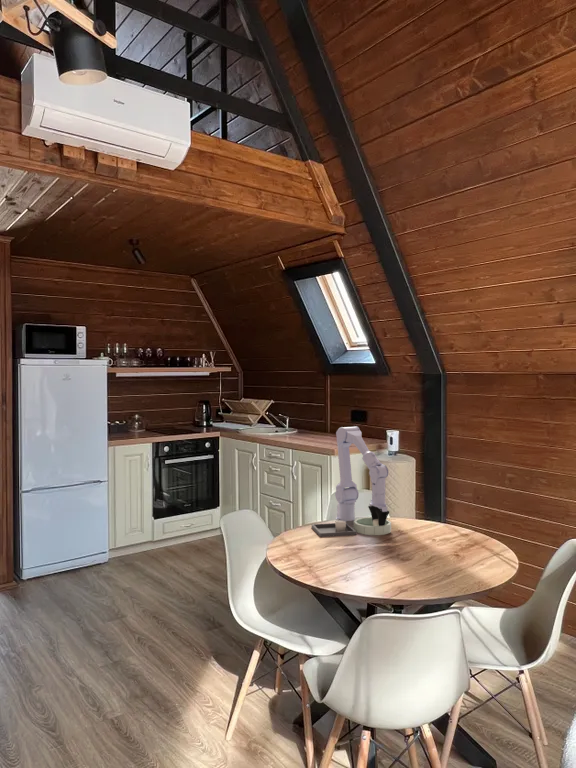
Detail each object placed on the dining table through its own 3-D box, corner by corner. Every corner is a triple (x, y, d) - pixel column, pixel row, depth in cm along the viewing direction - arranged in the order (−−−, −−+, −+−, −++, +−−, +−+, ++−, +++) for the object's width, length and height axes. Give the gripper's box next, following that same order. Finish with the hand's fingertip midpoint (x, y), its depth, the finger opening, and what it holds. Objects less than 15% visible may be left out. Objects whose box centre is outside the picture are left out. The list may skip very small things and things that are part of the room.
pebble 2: (371, 528, 251) (371, 519, 251) (381, 528, 252) (381, 518, 252) (375, 531, 247) (375, 522, 246) (384, 530, 247) (385, 521, 247)
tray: (311, 529, 252) (311, 524, 252) (345, 528, 255) (345, 522, 255) (320, 539, 238) (320, 533, 238) (356, 537, 241) (356, 531, 241)
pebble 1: (334, 529, 249) (334, 520, 249) (344, 529, 250) (344, 519, 250) (337, 532, 245) (337, 523, 244) (347, 531, 245) (347, 522, 245)
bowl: (349, 528, 255) (349, 518, 255) (382, 526, 258) (382, 516, 258) (361, 538, 239) (361, 527, 239) (396, 536, 243) (396, 525, 243)
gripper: (364, 490, 255) (364, 520, 255) (375, 497, 241) (375, 529, 241) (379, 489, 257) (379, 519, 257) (391, 496, 242) (391, 528, 243)
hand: (378, 524), depth 249 cm, fingers open, 7 cm apart
